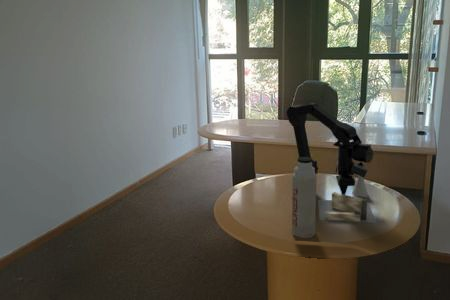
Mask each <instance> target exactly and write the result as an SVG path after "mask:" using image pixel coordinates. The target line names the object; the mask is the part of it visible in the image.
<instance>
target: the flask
mask: <svg viewBox="0 0 450 300" xmlns="http://www.w3.org/2000/svg"><path fill="white" fill-rule="evenodd" d="M351 195H354V197H363V198H369V193H368V189H367V186H366V183H365V177H364V178H363V177H361V176H359V175H357V180H356V182H355V186H354V188H353V190H352V193H351Z"/></svg>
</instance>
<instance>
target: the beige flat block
mask: <svg viewBox="0 0 450 300" xmlns="http://www.w3.org/2000/svg"><path fill="white" fill-rule="evenodd" d="M331 200H332V206H331V207H332V208H335V209H338V210H342V211H345V212H349V213H354V211H360V215H361V204H362V200H363V199H362V198H358V197H356V196H350V195H347V194H345V195H343V194H342V193H339V192H336V191H334V192H332V193H331Z"/></svg>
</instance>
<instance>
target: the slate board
mask: <svg viewBox="0 0 450 300" xmlns="http://www.w3.org/2000/svg"><path fill="white" fill-rule="evenodd" d="M317 201H318V202H317V205H318V216H319V221H326V220H325V211H326V212H345V211H342V210H338V209H335V208H332V207H331V206H332V199H317ZM370 206H371V205H370V204H369V202H368V201H367V216H366V220H362V219H361V216H360V221H349V222H350V223H351V222H352V223H353V222H354V223H357V222H358V223H371V224H372V223H373V224H376V223H377V222H376V219H375V216H374V214H373V211H372V209H371V207H370ZM329 221H330V222H331V221H333V222H335V221H336V222H345V221H344V220H329Z"/></svg>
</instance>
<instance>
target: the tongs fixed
mask: <svg viewBox="0 0 450 300" xmlns="http://www.w3.org/2000/svg"><path fill="white" fill-rule="evenodd" d="M367 202H368V200H367V199H366V200H365V199H362V204H361V215H360V211H354V213H349V212H326V211H325V220H324V221H330V220H344V221H343V222H350V221H360V216H361V219H362V220H366V216H367Z"/></svg>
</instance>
